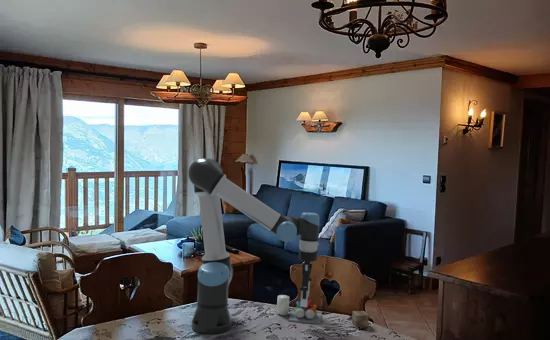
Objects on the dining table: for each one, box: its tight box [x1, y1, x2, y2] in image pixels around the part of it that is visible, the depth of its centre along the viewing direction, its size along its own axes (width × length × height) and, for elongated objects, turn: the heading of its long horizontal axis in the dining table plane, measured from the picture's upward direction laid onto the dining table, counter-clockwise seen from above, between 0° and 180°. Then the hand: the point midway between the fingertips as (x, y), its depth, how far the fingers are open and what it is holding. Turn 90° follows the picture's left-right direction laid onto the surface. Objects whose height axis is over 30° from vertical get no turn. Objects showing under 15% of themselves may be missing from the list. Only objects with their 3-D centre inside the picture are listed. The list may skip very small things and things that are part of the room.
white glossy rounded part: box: [276, 294, 290, 316], centre depth 185 cm, size 5×5×7 cm
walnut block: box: [351, 310, 369, 328], centre depth 175 cm, size 5×5×5 cm
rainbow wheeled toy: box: [293, 299, 318, 319], centre depth 181 cm, size 8×10×7 cm
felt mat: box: [288, 310, 323, 325], centre depth 181 cm, size 13×11×1 cm
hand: (304, 301), depth 181 cm, fingers open, 13 cm apart
